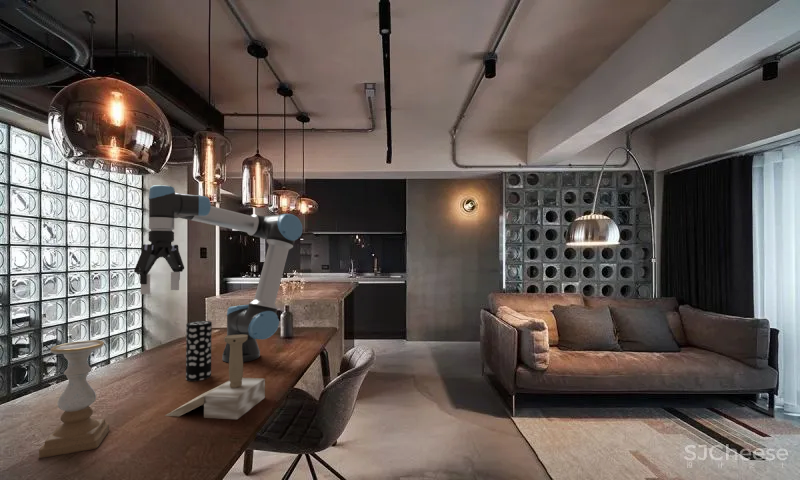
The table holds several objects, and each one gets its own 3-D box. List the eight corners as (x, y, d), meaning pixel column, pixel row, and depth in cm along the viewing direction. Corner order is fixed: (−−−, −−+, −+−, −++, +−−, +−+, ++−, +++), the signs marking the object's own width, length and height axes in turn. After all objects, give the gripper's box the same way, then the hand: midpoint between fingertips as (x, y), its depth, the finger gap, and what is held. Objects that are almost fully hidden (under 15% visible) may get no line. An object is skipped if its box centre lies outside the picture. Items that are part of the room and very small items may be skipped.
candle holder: (37, 458, 87) (39, 352, 88) (57, 437, 97) (59, 342, 98) (96, 448, 92) (98, 347, 92) (110, 429, 102) (111, 337, 102)
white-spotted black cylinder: (189, 382, 137) (189, 326, 138) (183, 377, 144) (184, 323, 144) (214, 377, 143) (214, 323, 144) (207, 372, 149) (208, 320, 150)
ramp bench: (200, 400, 126) (201, 376, 126) (264, 403, 123) (264, 378, 123) (164, 421, 110) (165, 394, 110) (237, 425, 107) (237, 397, 107)
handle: (245, 388, 114) (245, 337, 115) (222, 390, 113) (222, 338, 113) (248, 383, 119) (248, 334, 119) (226, 384, 118) (226, 335, 118)
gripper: (176, 232, 147) (176, 288, 146) (121, 228, 122) (120, 296, 121) (195, 232, 146) (194, 288, 145) (142, 228, 121) (142, 296, 120)
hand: (160, 292), depth 133 cm, fingers open, 13 cm apart
